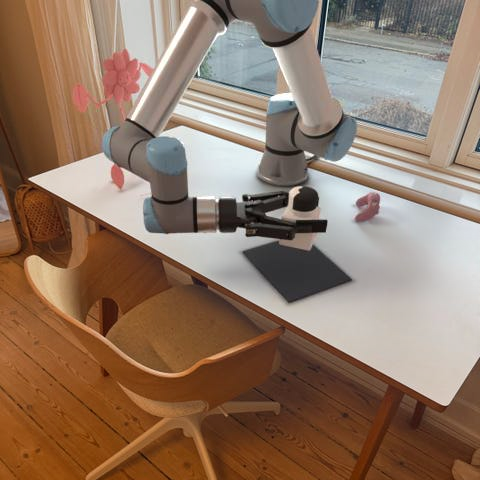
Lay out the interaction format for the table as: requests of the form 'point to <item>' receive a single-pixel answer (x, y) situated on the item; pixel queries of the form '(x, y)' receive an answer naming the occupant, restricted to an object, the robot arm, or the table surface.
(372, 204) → the video game controller
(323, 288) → the mat
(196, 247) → the table surface
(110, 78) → the figurine
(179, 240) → the table surface
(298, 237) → the medicine bottle
